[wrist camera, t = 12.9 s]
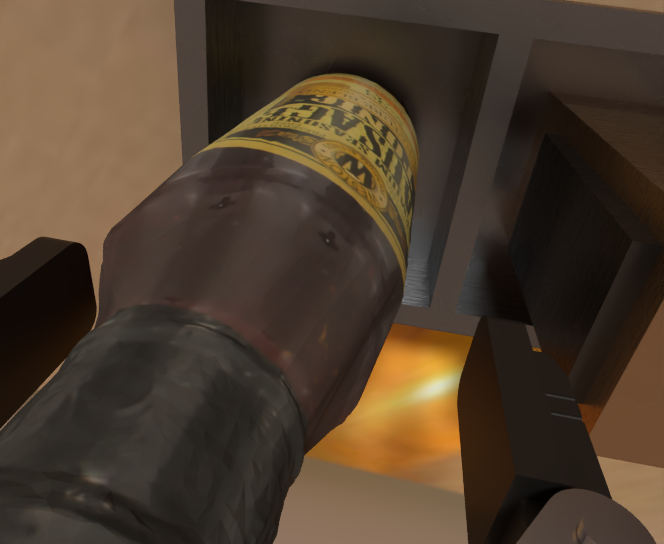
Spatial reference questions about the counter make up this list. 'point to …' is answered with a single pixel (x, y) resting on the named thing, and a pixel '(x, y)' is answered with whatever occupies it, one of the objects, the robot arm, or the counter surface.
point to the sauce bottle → (224, 331)
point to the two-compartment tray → (492, 166)
